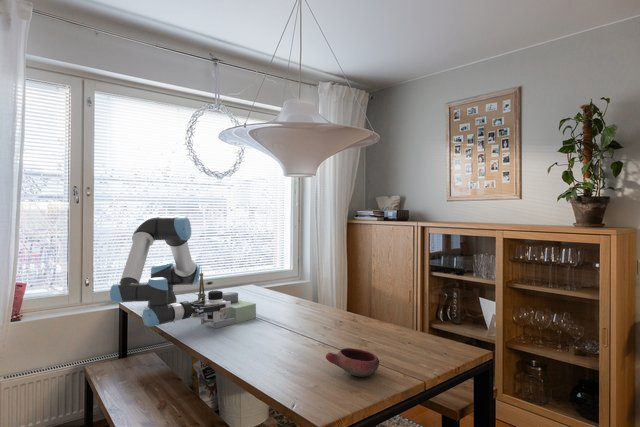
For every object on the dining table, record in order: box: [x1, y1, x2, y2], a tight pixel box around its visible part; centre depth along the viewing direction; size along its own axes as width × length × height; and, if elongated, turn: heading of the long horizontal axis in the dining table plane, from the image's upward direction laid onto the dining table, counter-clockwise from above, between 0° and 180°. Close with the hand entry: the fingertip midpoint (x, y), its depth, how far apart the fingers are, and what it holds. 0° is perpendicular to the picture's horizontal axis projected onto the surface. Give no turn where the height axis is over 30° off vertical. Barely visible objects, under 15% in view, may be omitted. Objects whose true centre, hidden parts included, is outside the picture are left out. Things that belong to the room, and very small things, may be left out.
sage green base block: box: [200, 291, 257, 329], centre depth 201 cm, size 20×23×11 cm
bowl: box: [325, 347, 380, 378], centre depth 133 cm, size 16×13×8 cm
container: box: [203, 289, 227, 321], centre depth 193 cm, size 8×8×13 cm
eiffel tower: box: [191, 266, 206, 318], centre depth 212 cm, size 11×11×25 cm
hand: (223, 302), depth 196 cm, fingers closed on container, 10 cm apart
